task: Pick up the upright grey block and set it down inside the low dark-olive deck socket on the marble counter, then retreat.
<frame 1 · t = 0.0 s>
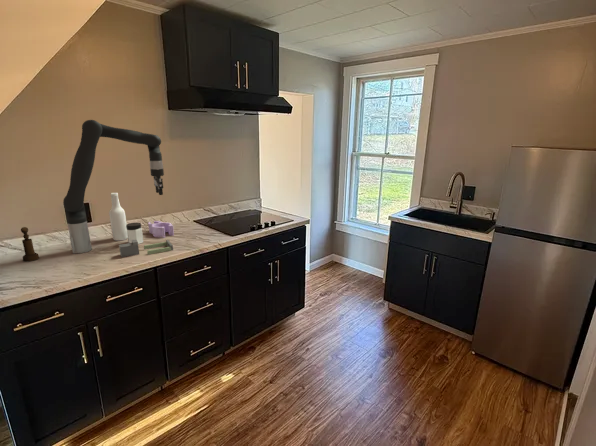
hand: (159, 193, 200), 29 cm above the worktop, fingers open, 8 cm apart
upright grey block: (129, 254, 178), on the worktop
clip: (160, 234, 215), on the worktop
brown chess pawn: (31, 259, 169), on the worktop
deck socket: (158, 249, 187), on the worktop
jar: (136, 242, 197), on the worktop
alcohol: (120, 239, 204), on the worktop
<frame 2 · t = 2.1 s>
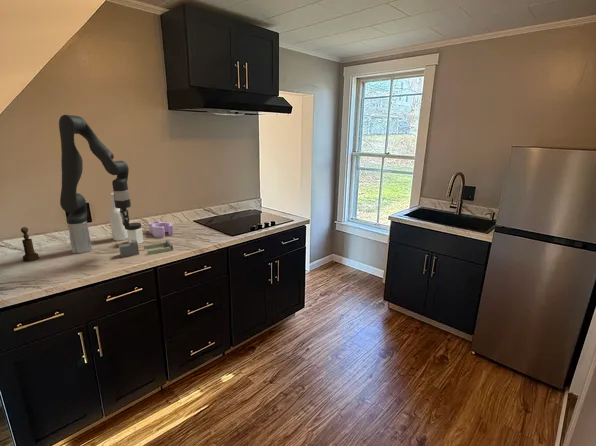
hand: (126, 227, 174), 16 cm above the worktop, fingers open, 8 cm apart
nothing on the worktop moved.
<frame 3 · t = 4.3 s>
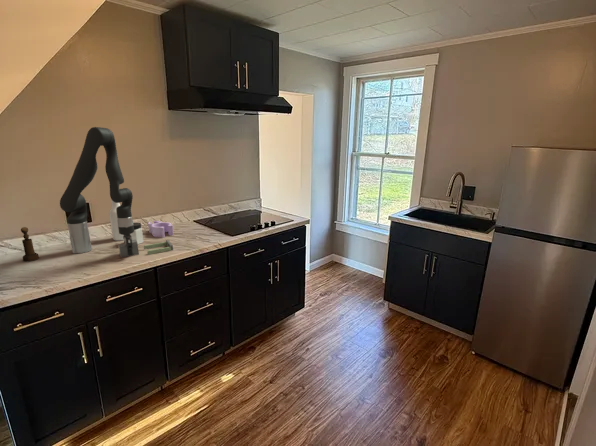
hand: (129, 253, 178), 1 cm above the worktop, fingers closed on upright grey block, 5 cm apart
upright grey block: (129, 254, 178), on the worktop, touching gripper
everything else where it was.
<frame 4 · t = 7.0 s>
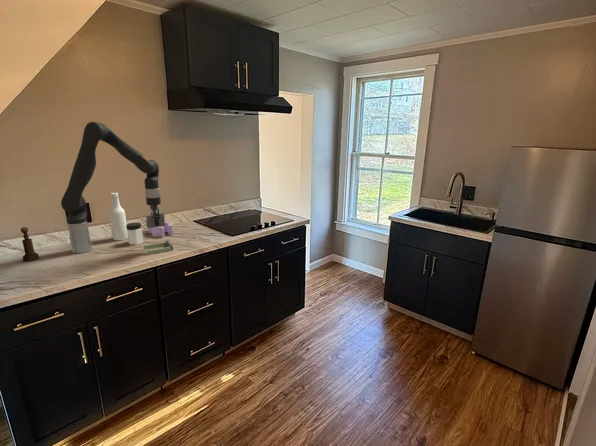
hand: (156, 224, 183), 15 cm above the worktop, fingers closed on upright grey block, 5 cm apart
upright grey block: (155, 225, 183), point 14 cm above the worktop, touching gripper
everything else where it was.
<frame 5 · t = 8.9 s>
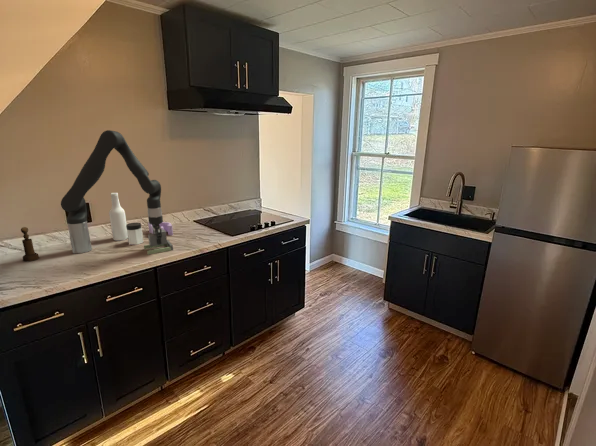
hand: (158, 242, 186), 4 cm above the worktop, fingers closed on upright grey block, 5 cm apart
upright grey block: (158, 243, 186), point 3 cm above the worktop, touching gripper
everything else where it was.
when the fingers open (3 cm above the worktop, at t = 10.0 s): upright grey block drops 3 cm, resting in deck socket.
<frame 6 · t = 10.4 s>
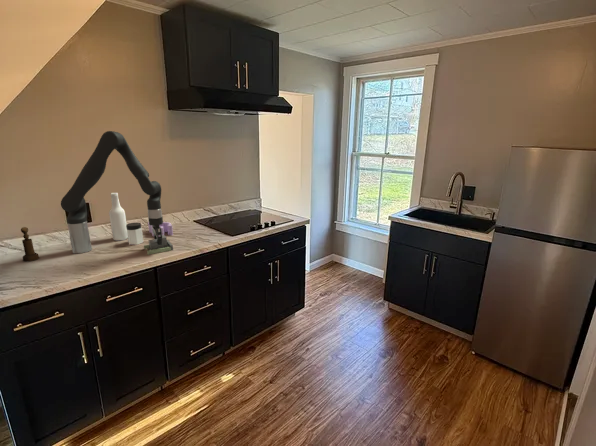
hand: (158, 242, 186), 4 cm above the worktop, fingers open, 8 cm apart
upright grey block: (158, 249, 187), resting in deck socket
everything else where it was.
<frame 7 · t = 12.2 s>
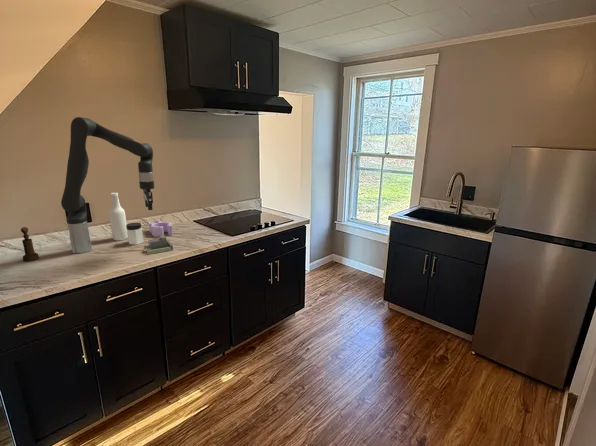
hand: (149, 208, 180), 25 cm above the worktop, fingers open, 8 cm apart
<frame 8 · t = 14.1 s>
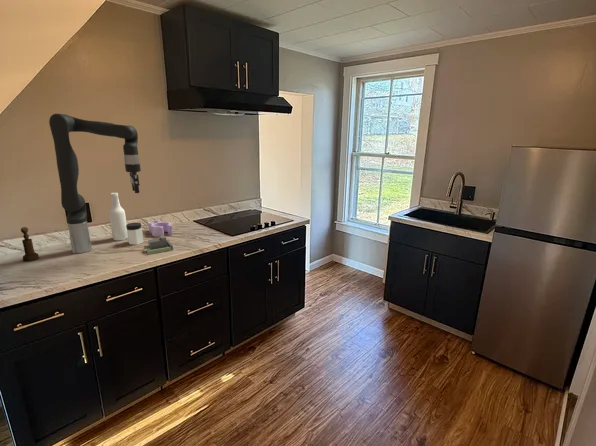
hand: (136, 191, 179), 34 cm above the worktop, fingers open, 8 cm apart
at the end: upright grey block inside the target area (0.5 cm from its centre), resting in deck socket; upright grey block tilted 0°; the gripper is holding nothing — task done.
